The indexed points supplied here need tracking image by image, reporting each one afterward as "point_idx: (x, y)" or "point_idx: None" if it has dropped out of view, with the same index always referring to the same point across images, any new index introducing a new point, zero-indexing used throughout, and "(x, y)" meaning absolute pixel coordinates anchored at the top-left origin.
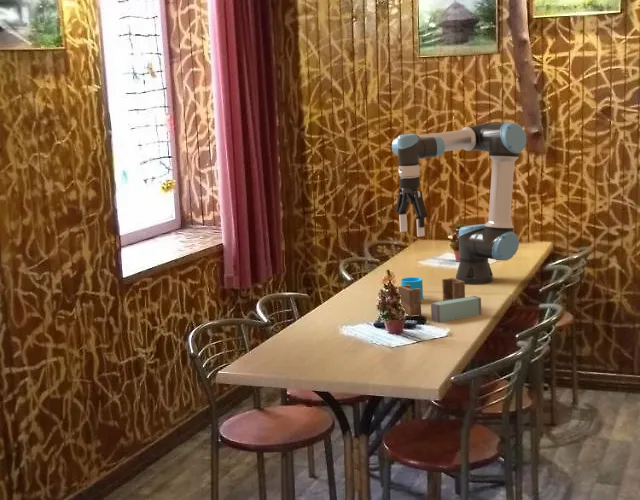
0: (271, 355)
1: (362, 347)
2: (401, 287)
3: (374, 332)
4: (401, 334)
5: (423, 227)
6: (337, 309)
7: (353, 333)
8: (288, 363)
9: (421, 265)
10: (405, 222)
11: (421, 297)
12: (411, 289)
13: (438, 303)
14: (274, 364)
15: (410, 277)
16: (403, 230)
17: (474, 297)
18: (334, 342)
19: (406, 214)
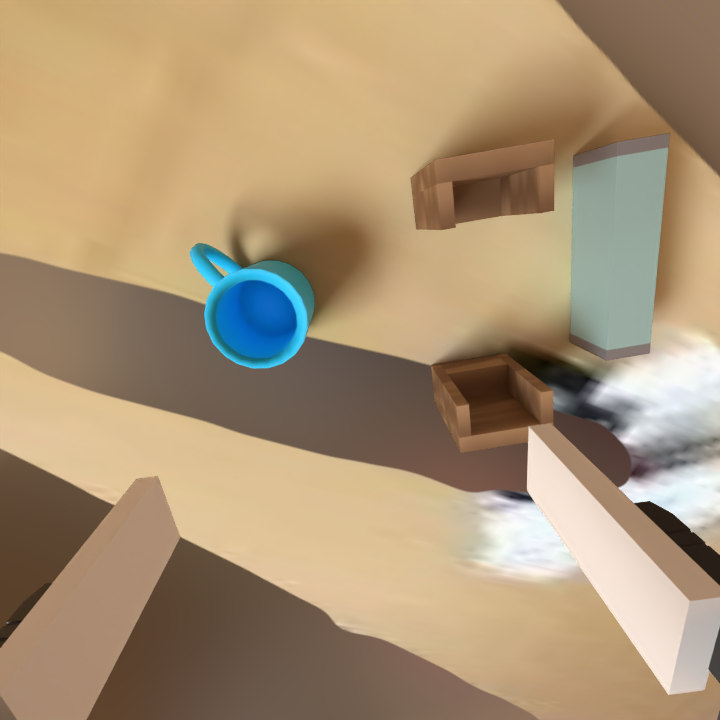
0: (608, 707)
1: None
2: (486, 447)
3: None
4: (650, 466)
5: (610, 492)
6: (292, 540)
7: (561, 559)
8: None
9: None
10: (108, 575)
11: (302, 277)
12: None
13: (627, 337)
14: (666, 709)
15: (207, 308)
16: (165, 523)
17: (643, 156)
18: (604, 606)
19: (5, 687)
